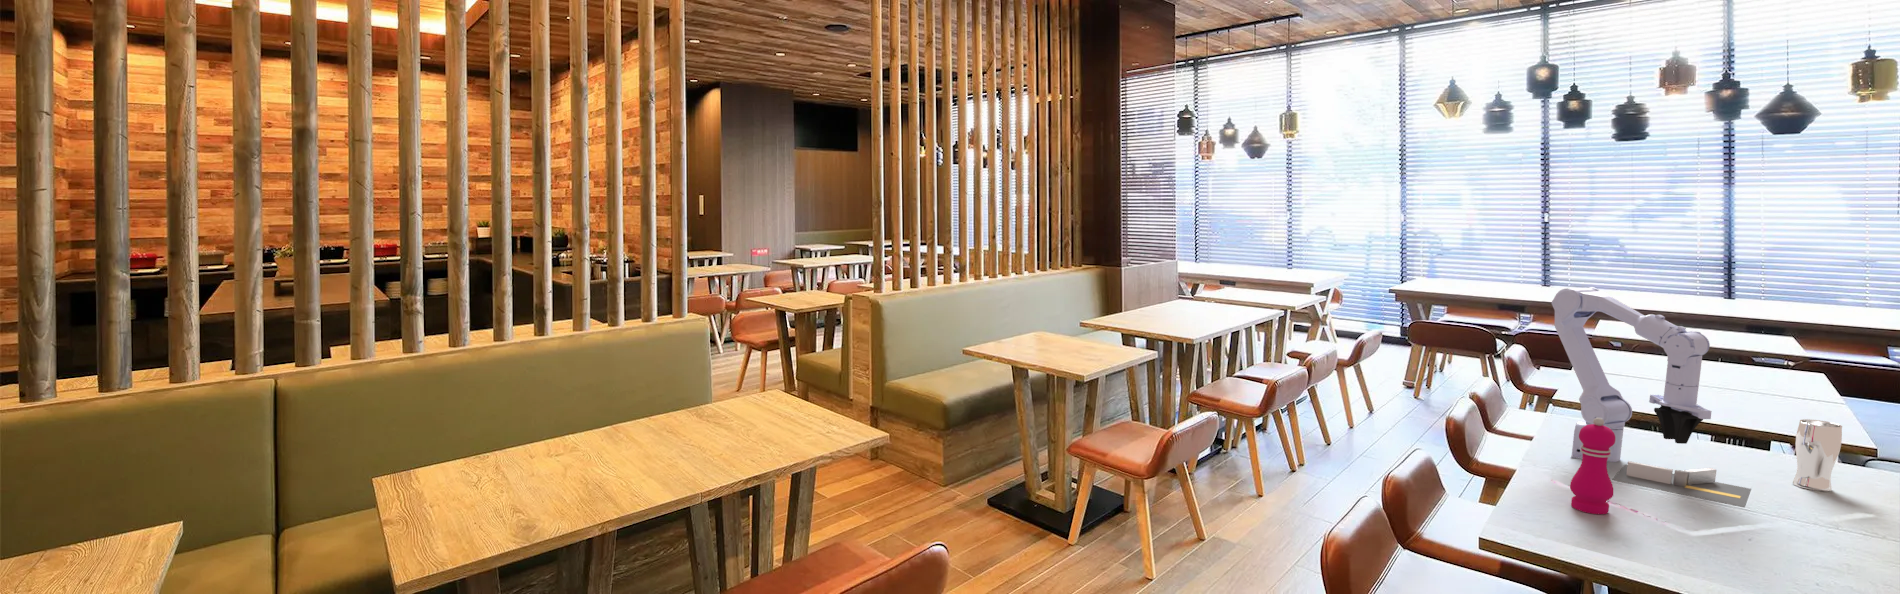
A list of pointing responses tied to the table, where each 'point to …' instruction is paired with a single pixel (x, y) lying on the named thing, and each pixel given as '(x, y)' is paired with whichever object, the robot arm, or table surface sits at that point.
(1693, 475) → the hinge leaf
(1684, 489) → the mat
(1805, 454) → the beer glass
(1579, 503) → the pepper mill
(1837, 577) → the table surface
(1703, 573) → the table surface
